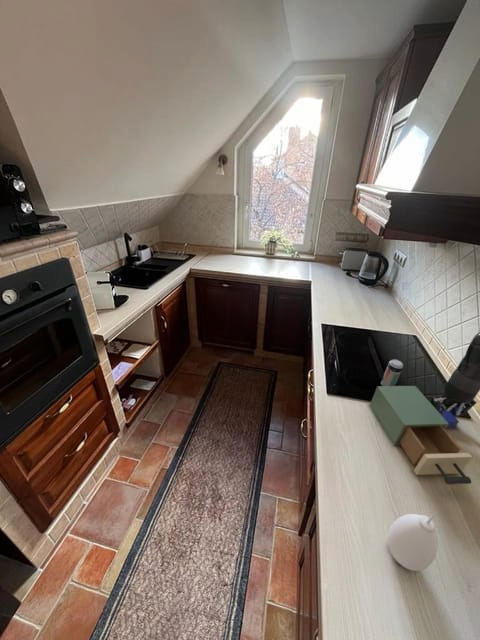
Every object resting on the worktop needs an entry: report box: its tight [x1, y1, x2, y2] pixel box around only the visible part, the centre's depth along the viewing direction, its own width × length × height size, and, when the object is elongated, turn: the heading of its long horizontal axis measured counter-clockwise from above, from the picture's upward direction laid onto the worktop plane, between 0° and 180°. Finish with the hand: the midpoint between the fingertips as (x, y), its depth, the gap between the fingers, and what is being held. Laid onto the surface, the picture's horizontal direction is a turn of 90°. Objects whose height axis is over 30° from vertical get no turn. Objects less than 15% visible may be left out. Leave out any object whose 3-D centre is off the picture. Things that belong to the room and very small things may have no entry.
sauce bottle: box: [387, 513, 439, 572], centre depth 52 cm, size 8×8×18 cm
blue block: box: [440, 408, 460, 429], centre depth 88 cm, size 6×4×4 cm
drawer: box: [399, 426, 473, 485], centre depth 73 cm, size 20×13×8 cm, turn 2°
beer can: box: [380, 358, 404, 386], centre depth 100 cm, size 5×5×12 cm
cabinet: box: [369, 385, 449, 446], centre depth 84 cm, size 16×14×10 cm
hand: (441, 419), depth 88 cm, fingers closed on blue block, 4 cm apart
